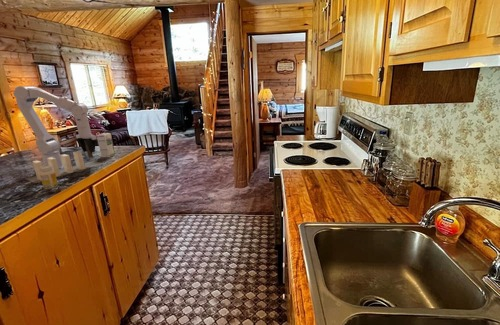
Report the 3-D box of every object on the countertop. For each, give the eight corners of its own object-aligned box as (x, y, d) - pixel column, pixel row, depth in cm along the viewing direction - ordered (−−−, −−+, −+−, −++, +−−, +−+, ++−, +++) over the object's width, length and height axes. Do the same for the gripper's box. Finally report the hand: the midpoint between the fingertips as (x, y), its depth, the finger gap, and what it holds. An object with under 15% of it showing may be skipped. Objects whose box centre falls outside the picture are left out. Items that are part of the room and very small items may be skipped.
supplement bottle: (45, 190, 115) (39, 169, 113) (42, 187, 119) (36, 167, 116) (60, 186, 119) (54, 166, 117) (56, 184, 123) (50, 164, 120)
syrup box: (109, 157, 163) (104, 134, 159) (101, 157, 165) (96, 134, 160) (115, 155, 169) (111, 132, 164) (107, 155, 170) (102, 132, 166)
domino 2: (56, 176, 131) (51, 159, 128) (51, 175, 134) (46, 158, 131) (60, 175, 133) (55, 158, 130) (56, 174, 135) (51, 157, 133)
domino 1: (41, 180, 126) (36, 162, 124) (37, 179, 129) (32, 161, 126) (46, 179, 128) (41, 161, 125) (42, 177, 131) (37, 160, 128)
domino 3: (69, 173, 136) (64, 156, 133) (64, 171, 139) (60, 155, 136) (73, 172, 137) (69, 155, 135) (68, 170, 140) (64, 154, 137)
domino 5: (89, 158, 144) (85, 141, 141) (88, 156, 147) (84, 140, 145) (93, 157, 145) (89, 141, 142) (92, 155, 149) (88, 139, 146)
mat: (25, 179, 130) (24, 178, 130) (93, 161, 156) (93, 160, 156) (35, 184, 124) (34, 183, 124) (104, 164, 150) (104, 163, 150)
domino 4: (81, 169, 141) (77, 153, 138) (76, 168, 143) (72, 152, 141) (85, 168, 142) (81, 152, 140) (80, 167, 145) (76, 151, 142)
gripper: (67, 127, 141) (73, 152, 145) (84, 128, 135) (90, 154, 139) (80, 125, 147) (86, 149, 151) (97, 126, 141) (103, 151, 145)
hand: (89, 151), depth 145 cm, fingers closed on domino 5, 5 cm apart
